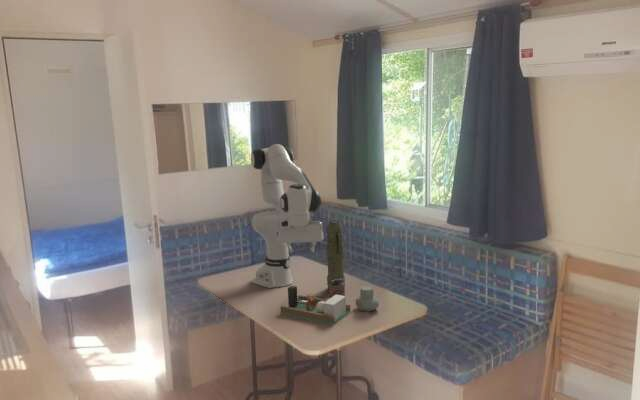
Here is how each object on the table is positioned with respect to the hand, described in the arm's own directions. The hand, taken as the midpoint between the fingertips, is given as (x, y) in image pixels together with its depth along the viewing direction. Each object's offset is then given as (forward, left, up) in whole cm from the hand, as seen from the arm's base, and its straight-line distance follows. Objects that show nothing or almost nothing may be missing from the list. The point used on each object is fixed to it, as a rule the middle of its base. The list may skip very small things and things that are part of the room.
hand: (301, 252), depth 227 cm
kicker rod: (-3, +2, -27) cm, 27 cm away
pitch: (+5, +2, -28) cm, 29 cm away
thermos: (-1, +33, -29) cm, 44 cm away
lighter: (+6, +21, -29) cm, 36 cm away
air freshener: (+24, +16, -29) cm, 40 cm away
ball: (+8, +2, -25) cm, 26 cm away
